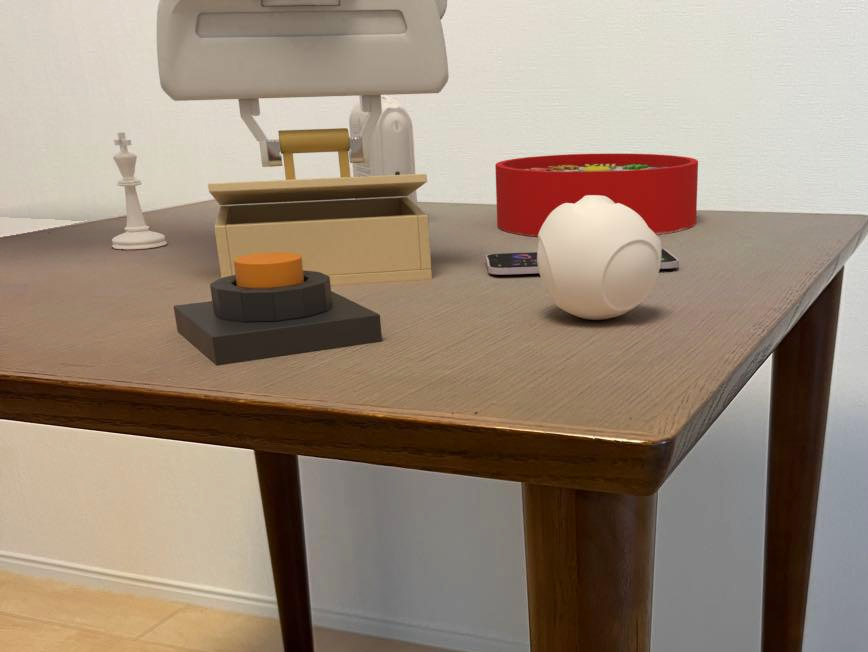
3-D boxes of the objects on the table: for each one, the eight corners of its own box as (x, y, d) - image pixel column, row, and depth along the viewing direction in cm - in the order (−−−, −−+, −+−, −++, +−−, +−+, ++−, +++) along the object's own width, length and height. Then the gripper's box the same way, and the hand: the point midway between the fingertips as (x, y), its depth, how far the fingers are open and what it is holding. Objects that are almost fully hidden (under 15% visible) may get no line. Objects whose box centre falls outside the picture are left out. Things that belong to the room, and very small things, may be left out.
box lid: (427, 182, 80) (422, 121, 79) (208, 192, 77) (200, 129, 76) (408, 196, 93) (403, 144, 92) (219, 205, 90) (212, 151, 89)
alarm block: (216, 366, 61) (207, 304, 60) (177, 332, 69) (168, 276, 68) (382, 342, 66) (377, 283, 64) (327, 312, 74) (322, 260, 72)
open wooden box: (432, 279, 84) (428, 215, 82) (223, 293, 81) (214, 226, 79) (411, 253, 95) (408, 196, 93) (227, 264, 92) (219, 205, 90)
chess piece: (137, 251, 100) (118, 134, 96) (100, 247, 102) (80, 134, 98) (178, 243, 104) (161, 131, 100) (141, 240, 106) (123, 130, 102)
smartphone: (681, 261, 85) (488, 268, 84) (681, 268, 85) (489, 276, 84) (663, 247, 92) (485, 253, 90) (663, 254, 92) (485, 260, 91)
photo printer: (424, 226, 110) (416, 94, 105) (383, 230, 109) (373, 96, 104) (390, 215, 119) (381, 93, 114) (352, 218, 117) (341, 94, 112)
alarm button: (247, 296, 64) (243, 265, 63) (229, 285, 67) (225, 256, 66) (313, 288, 66) (310, 258, 65) (293, 278, 69) (289, 250, 68)
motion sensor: (674, 310, 72) (677, 188, 69) (636, 336, 66) (638, 203, 62) (562, 303, 75) (560, 185, 72) (516, 327, 69) (512, 199, 65)
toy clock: (573, 150, 120) (735, 157, 109) (573, 205, 123) (731, 217, 112) (453, 166, 106) (625, 175, 95) (456, 228, 108) (625, 244, 97)
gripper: (438, -44, 80) (448, 155, 85) (146, -43, 76) (177, 166, 81) (451, -52, 74) (461, 161, 80) (137, -52, 70) (171, 174, 76)
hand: (315, 164), depth 81 cm, fingers closed on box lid, 5 cm apart
